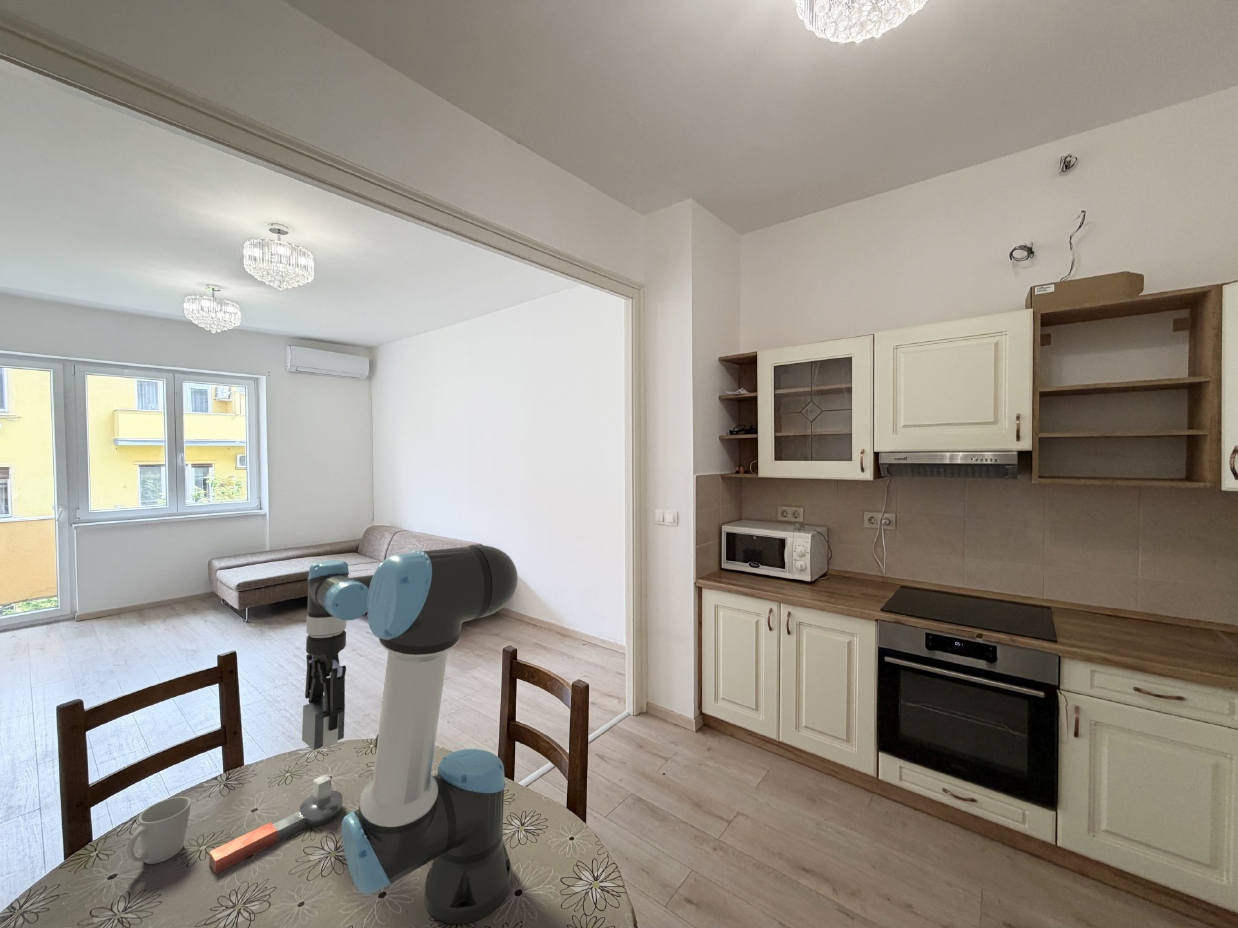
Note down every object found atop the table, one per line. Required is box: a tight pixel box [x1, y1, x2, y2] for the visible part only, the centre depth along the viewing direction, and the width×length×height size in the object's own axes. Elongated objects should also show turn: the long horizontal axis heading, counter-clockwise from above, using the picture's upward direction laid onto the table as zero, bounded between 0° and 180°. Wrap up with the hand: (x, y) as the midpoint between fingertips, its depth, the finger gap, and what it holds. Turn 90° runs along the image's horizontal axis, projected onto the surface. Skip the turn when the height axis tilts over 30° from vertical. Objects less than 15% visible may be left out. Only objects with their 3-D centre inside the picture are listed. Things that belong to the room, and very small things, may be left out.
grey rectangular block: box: [301, 699, 346, 751], centre depth 108 cm, size 6×6×8 cm
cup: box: [126, 796, 192, 865], centre depth 95 cm, size 8×10×8 cm
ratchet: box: [208, 773, 343, 875], centre depth 102 cm, size 23×8×8 cm, turn 144°
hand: (323, 737), depth 108 cm, fingers closed on grey rectangular block, 6 cm apart
